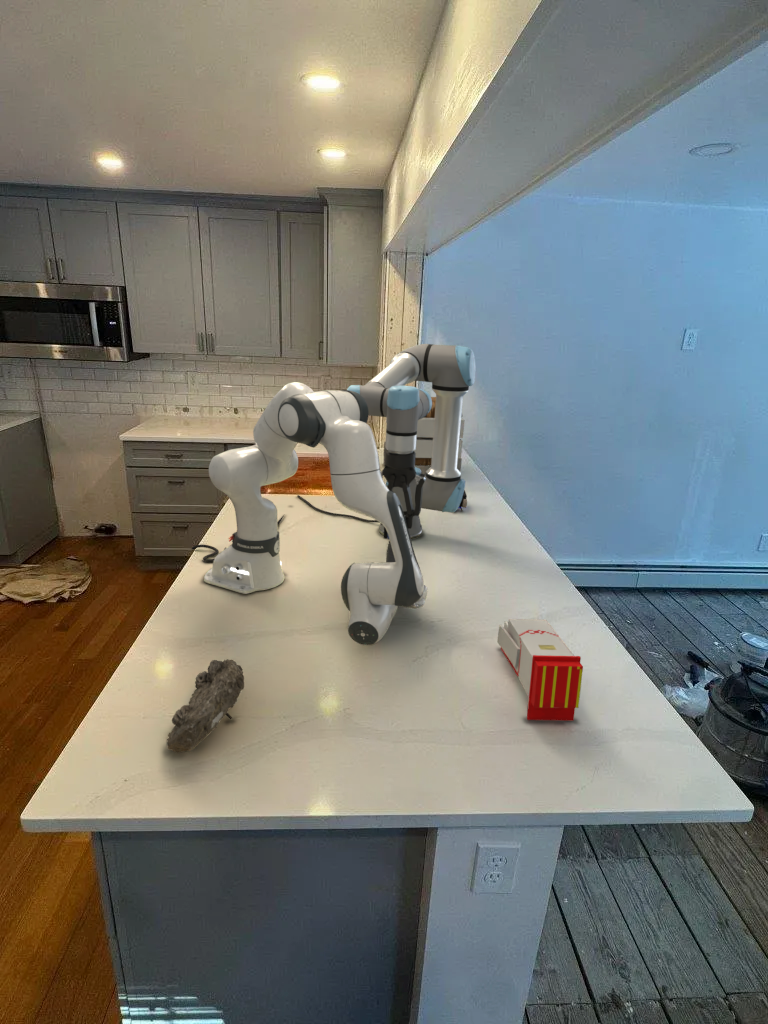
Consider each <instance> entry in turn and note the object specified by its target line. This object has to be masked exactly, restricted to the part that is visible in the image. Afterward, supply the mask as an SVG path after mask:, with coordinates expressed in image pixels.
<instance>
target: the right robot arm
mask: <svg viewBox="0 0 768 1024" xmlns="http://www.w3.org/2000/svg"><path fill="white" fill-rule="evenodd" d="M476 370H477V368H476V357H475V353H474V351H473V349H472V348H471V347H469V346H463V345H455V344H454V345H452V344H434V343H433V344H432V343H419V344H416V345H413V346H410V347H406V348H405V349H403V350H401V351H399V352H398V353H396V354H395V355H393V357H392V358H391V360H390V362H389V364H388V365H387V366H386V367H385V368H383V369H381V371H380V372H379V373H377V374H376V375H375V376H374V377H372V378H371V379H370V380H369V381H368V382H366V383H365V384H364V385H361V384H351V385H349V386H348V387H347V389H346V390H350V391H354V392H357V393H359V394H360V395H361V396H362V397H363V398H364V399H365V401H366V403H367V406H368V417H382V418H386V417H387V423H386V426H387V428H385V438H386V441H385V442H386V445H385V448H386V449H387V450H386V452H385V466H384V467H383V469H382V470H380V472H381V476H382V479H385V480H386V482H385V485H386V486H387V488H388V489H389V490H390V491H392V492H394V493H395V494H396V495H397V497H398V499H399V501H400V504H401V507H402V510H403V513H404V516H405V520H406V523H407V527H408V531H409V534H410V538H411V540H415V539H418V538H420V537H421V536H422V535H423V525H422V524H421V518H420V514H421V512H422V509H424V510H431V511H435V512H436V511H437V512H441V513H456V512H457V511H458V507H459V505H460V503H461V500H462V497H463V493H464V490H465V489H466V480H465V479H464V478H462V473H460V471H459V470H458V469H457V460H458V449H459V437H460V426H461V418H462V417H461V415H462V416H463V402H464V396H465V395H466V394H467V393H468V392H469V389H470V387H472V386H474V384H475V382H476V372H477V371H476ZM413 382H423V383H431V390H432V391H433V393H435V397H436V404H435V418H434V432H433V446H432V460H431V465H430V466H429V468H427V469H426V471H425V473H422V470H421V468H419V467H417V466H415V455H416V453H415V452H414V450H416V439H417V423H418V420H419V419H422V418H424V417H425V416H426V415H427V414H428V413H429V412H430V410H431V408H432V399H431V397H432V396H431V395H430V394H429V392H428V391H427V390H424V389H422V388H417V387H416V386H413V385H408V384H411V383H413ZM383 477H384V478H383ZM296 497H297V498H298V499H300V500H302V501H303V502H304V503H306V504H307V505H308V506H309V507H310V508H312V509H314V510H316V511H317V512H320V513H323V514H327V515H330V516H337V517H346V518H351V519H356V520H359V521H362V522H366V523H377V524H378V523H379V525H378V533H379V534H380V535H381V536H382V537H383V539H384V540H387V539H388V538H387V530H386V528H385V527H384V526H383V525H382V524H381V523H380V522H378V521H377V520H375V519H367V518H362V517H359V516H356V515H355V516H354V515H351V514H345V513H336V512H330V511H326V510H323V509H320V508H318V507H316V506H314V505H313V504H311V502H309V501H308V500H307V499H305V498H303V497H302V496H301V495H299V494H297V495H296Z"/></svg>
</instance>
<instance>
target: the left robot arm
mask: <svg viewBox="0 0 768 1024" xmlns="http://www.w3.org/2000/svg"><path fill="white" fill-rule="evenodd" d="M368 421H369V415H368V406H367V403H366V401H365V399H364V398H363V397H362V396H361V395H360V394H359V393H357V392H354V391H350V390H347V389H340V390H337V389H325V390H324V389H323V390H319V391H314V390H313V388H311V387H310V386H308V385H307V384H305V383H303V382H299V381H292V382H289V383H288V382H287V384H285V385H284V386H283V387H282V388H281V389H279V390H278V392H276V394H274V396H273V397H272V398H271V399H270V401H269V402H268V404H267V405H266V407H265V409H264V410H263V412H262V413H261V415H260V417H259V418H258V420H257V422H256V424H255V425H254V427H253V431H252V435H253V440H254V443H255V444H253V445H250V446H244V447H238V448H233V449H232V448H231V449H228V450H225V451H223V452H220V453H218V454H216V455H214V456H213V457H212V458H211V460H210V462H209V465H208V476H209V480H210V481H211V483H212V485H213V486H214V487H215V488H216V490H218V491H220V492H222V493H223V494H225V495H226V496H227V497H228V498H229V500H230V501H231V503H232V506H233V509H234V513H235V521H236V531H235V532H233V533H232V534H231V536H229V537H228V542H232V543H231V544H230V545H228V546H227V547H224V548H223V550H221V551H220V552H219V549H218V548H217V547H214V546H212V545H209V544H196V545H194V546H192V548H191V550H192V551H193V550H196V549H199V548H204V549H209V550H212V551H214V552H212V553H209V554H206V555H204V556H203V557H202V561H204V563H205V562H206V563H212V566H211V568H209V569H208V571H207V572H206V573H205V574H204V577H203V582H204V583H205V584H206V583H207V584H210V585H212V586H215V587H219V588H223V589H226V590H230V591H233V592H236V593H239V594H243V595H248V594H250V593H254V592H258V591H259V592H260V591H264V590H265V591H266V590H269V589H273V588H276V587H278V586H280V585H281V584H282V583H283V582H284V581H285V574H284V571H283V567H282V565H283V564H282V563H283V562H282V561H281V557H280V549H281V540H280V539H281V538H280V532H279V526H278V508H277V505H276V504H275V503H274V502H273V501H271V500H270V499H269V498H267V497H263V496H262V492H261V488H262V487H264V486H269V485H273V484H277V483H281V482H283V481H286V480H287V479H289V478H291V477H293V476H295V474H296V473H297V472H298V469H299V455H298V453H297V451H296V450H295V448H296V446H298V444H302V445H306V446H308V447H310V448H316V447H317V446H318V445H319V444H320V445H321V446H323V447H324V449H325V450H326V452H327V455H328V462H329V473H330V474H329V475H330V483H331V488H332V492H333V495H334V497H335V499H336V500H337V502H338V503H340V504H341V505H342V506H343V507H345V508H346V509H348V510H349V511H351V512H354V513H357V514H359V515H363V516H365V517H368V518H370V519H372V520H377V521H378V522H380V523H381V524H382V525H383V526H384V527H385V528H386V530H387V532H388V536H389V539H390V543H391V547H392V550H393V554H394V558H395V561H396V562H386V561H385V562H383V561H382V562H374V561H366V562H365V561H364V562H363V561H361V562H353V563H351V564H350V565H349V566H348V567H347V569H346V570H345V572H344V573H343V576H342V578H341V582H340V594H341V599H342V602H343V603H344V605H345V607H346V609H347V610H348V612H349V617H348V618H349V619H348V622H347V634H348V636H349V637H350V639H351V640H352V641H354V642H355V643H357V644H359V645H363V646H372V645H375V644H377V643H378V642H380V641H381V640H382V638H384V636H385V634H386V633H387V632H388V629H389V628H390V625H391V623H392V620H393V619H394V617H395V615H396V613H397V610H398V608H399V607H401V608H406V609H414V610H418V609H419V608H422V607H424V606H425V603H426V600H427V598H428V590H429V589H428V587H427V586H426V584H425V582H424V575H423V573H422V570H421V567H420V565H419V562H418V560H417V557H416V553H415V550H414V545H413V542H412V539H411V538H410V534H409V531H408V527H407V523H406V520H405V516H404V513H403V510H402V507H401V504H400V501H399V499H398V497H397V495H396V494H395V493H394V492H392V491H390V490H389V489H388V488H387V486H386V482H384V478H382V477H383V476H381V464H380V457H379V452H378V447H377V443H376V438H375V436H374V433H373V429H372V427H371V426H370V425H369V424H368ZM380 523H379V524H380ZM389 539H388V540H389ZM214 556H215V557H214ZM212 557H214V558H212Z"/></svg>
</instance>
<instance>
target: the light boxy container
mask: <svg viewBox="0 0 768 1024" xmlns="http://www.w3.org/2000/svg"><path fill="white" fill-rule="evenodd" d="M431 399H432V408H431V410H430V412H429V413H428V414H427V415H426V416H425V417H424V418H422V419H419V420H418V423H417V439H416V450H414V452H415V453H416V455H415V467H417V466H418V467H431V460H432V446H433V432H434V418H435V404H436V396H431ZM385 423H386V424H387V417H385ZM386 428H387V425H386ZM386 428H385V429H386ZM464 429H465V419H464V418H463V414H462V415H461V426H460V437H459V449H458V460H457V469H458V470H459V471H460V473H461V472H462V461H463V460H462V453H463V442H464V441H463V440H462V439H463V438H464V431H465V430H464ZM385 445H386V437H385V438H384V442H383V466H384V467H385V452H386V450H387V449H386V448H385ZM461 474H462V473H461Z"/></svg>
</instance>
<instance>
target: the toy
mask: <svg viewBox="0 0 768 1024" xmlns="http://www.w3.org/2000/svg"><path fill="white" fill-rule="evenodd" d="M498 626H499V627H498V634H497V644H498V646H500V650H501V652H502V653H503V655H504V657H505V658H506V661H508V663H509V665H510V667H511V668H512V670H513V671H514V673H515V675H516V677H518V680H519V682H520V684H521V686H522V687H523V690H524V692H525V693H526V695H527V697H528V702H527V703H528V704H527V712H526V720H527V721H562V722H563V721H567V722H568V721H570V722H572V721H574V719H575V714H576V713H575V712H576V709H578V708H579V705H580V697H581V687H582V680H583V672H584V671H583V670H584V666H583V664H582V663H581V656H580V655H575V654H574V653H573V651H572V650H571V649H570V648H569V647H568V646H567V644H566V643H565V642H564V640H563V639H562V638H561V636H560V635H559V634H558V633H557V631H556V630H555V629H554V627H553V626H552V625H551V624H550V623H549V621H548V620H547V619H539V618H538V619H534V618H533V619H532V618H508V621H504V623H503V624H499V625H498Z"/></svg>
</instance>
